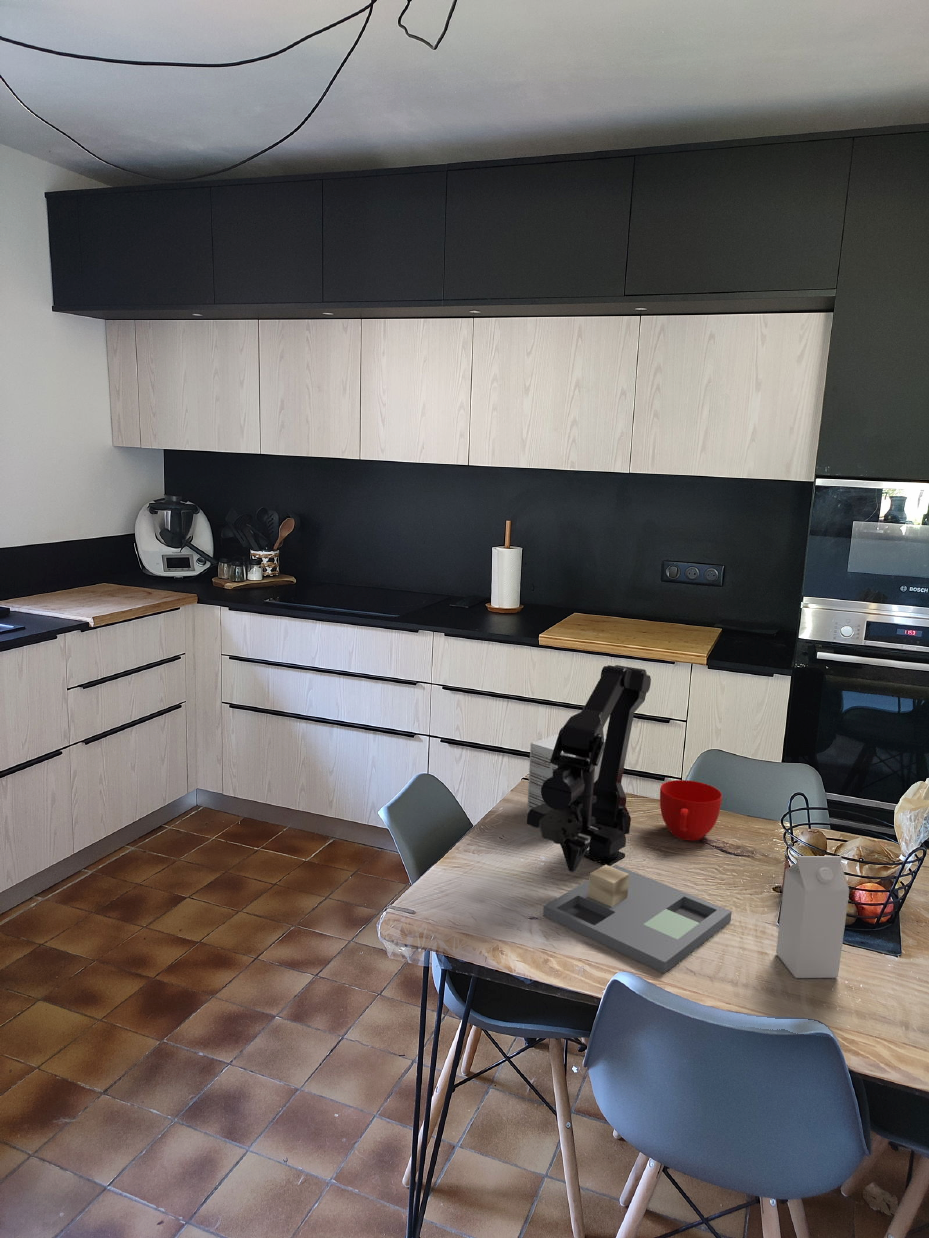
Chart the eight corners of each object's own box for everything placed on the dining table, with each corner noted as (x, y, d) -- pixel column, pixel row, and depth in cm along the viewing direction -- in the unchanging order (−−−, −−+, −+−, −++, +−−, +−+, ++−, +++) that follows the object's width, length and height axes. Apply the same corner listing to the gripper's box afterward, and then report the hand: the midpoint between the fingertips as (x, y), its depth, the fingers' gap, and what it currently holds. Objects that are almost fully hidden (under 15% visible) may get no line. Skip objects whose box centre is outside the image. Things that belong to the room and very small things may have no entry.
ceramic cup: (648, 846, 183) (651, 801, 181) (662, 817, 198) (665, 776, 196) (711, 859, 178) (716, 813, 176) (721, 829, 193) (725, 786, 192)
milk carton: (775, 953, 144) (787, 846, 141) (816, 953, 145) (830, 846, 141) (795, 979, 137) (808, 866, 134) (838, 978, 138) (852, 866, 135)
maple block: (603, 887, 160) (605, 864, 159) (627, 897, 157) (629, 874, 156) (588, 896, 157) (590, 873, 156) (612, 906, 153) (613, 883, 152)
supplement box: (570, 799, 207) (575, 726, 203) (617, 817, 198) (623, 740, 194) (524, 819, 194) (528, 741, 191) (572, 838, 185) (577, 757, 182)
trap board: (615, 874, 170) (616, 864, 169) (730, 921, 154) (731, 911, 154) (543, 916, 153) (543, 905, 153) (664, 973, 137) (665, 962, 137)
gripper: (509, 787, 159) (505, 867, 162) (594, 819, 147) (588, 904, 150) (547, 773, 167) (542, 849, 170) (630, 802, 155) (623, 883, 158)
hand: (571, 871), depth 162 cm, fingers closed
